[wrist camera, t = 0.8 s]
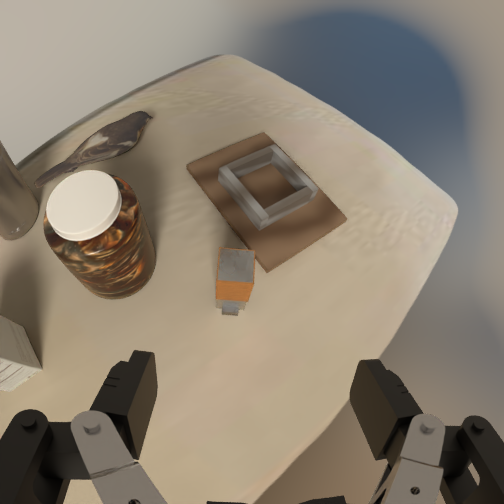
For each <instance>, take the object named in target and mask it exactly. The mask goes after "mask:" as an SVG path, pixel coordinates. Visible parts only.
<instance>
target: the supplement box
mask: <svg viewBox="0 0 504 504" xmlns="http://www.w3.org/2000/svg"><path fill="white" fill-rule="evenodd" d="M41 370H42V367H41V365H40V363H39V361H38V359H37V357H36V355H35V353H34V350H33V348H32V346H31V344H30V341H29V339H28V337H27V334H26V332H25V329H24V327H22V326H20V325H18V324H16V323H14V322H13V321H11V320H9V319H7V318H5V317H3V316H1V315H0V390H3V391H10V392H11V391H12V390H14V389H15V388H17V387H18V386H20V385H21V384H22V383H24V382H25V381H27V380H28V379H29V378H31V377H32V376H34V375H35V374H37V373H38V372H39V371H41Z"/></svg>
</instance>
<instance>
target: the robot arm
mask: <svg viewBox="0 0 504 504" xmlns="http://www.w3.org/2000/svg"><path fill="white" fill-rule="evenodd" d="M38 211H39V205H38V201H37V200H36V198H35V197H34V195H33V194H32V192H31V191H30V189H29V187H28V186H27V184H26V183H25V181H24V180H23V178H22V176H21V175H20V173H19V172H18V170H17V168H16V167H15V165H14V163H13V162H12V160H11V158H10V157H9V155H8V153H7V151H6V150H5V148H4V146H3V145H2V143H1V141H0V235H1V236H2V237H3V238H4V239H6V240H14V239H18V238H19V237H21V236H23V235H24V234H25V233H27V232H28V230H29V229H30V228H31V227H32V226H33V224H34V222H35V220H36V218H37V215H38ZM157 388H158V385H157V374H156V364H155V355H154V353H153V352H146V351H138V350H134V352H133V353H132V355H131V357H130V360H129V362H125V361H120V362H119V363H117V364H116V365H115V366H113V367H112V368H111V370H110V372H109V374H108V376H107V378H106V379H105V381H104V383H103V385H102V387H101V389H100V391H99V393H98V394H97V396H96V398H95V400H94V402H93V404H92V406H91V408H90V410H89V411H85V412H82V413H80V414H78V415H76V416H75V417H74V419H73V420H72V422H48V420H47V417H46V416H45V415H44V414H43V413H42V412H40V411H38V410H33V409H28V410H24V411H21V412H19V413H18V414H16V415H15V416H14V418H13V419H12V421H11V422H10V424H9V426H8V427H7V429H6V431H5V432H4V434H3V436H2V438H1V439H0V504H63V502H64V499H65V496H66V493H67V489H68V486H69V483H70V480H71V479H80V480H92V482H93V484H94V486H95V488H96V490H97V492H98V494H99V496H100V498H101V500H102V502H103V504H167V502H166V501H165V500H164V498H163V497H162V495H161V494H160V493H159V491H158V490H157V488H156V487H155V486H154V484H153V483H152V481H151V480H150V478H149V477H148V475H147V474H146V472H145V471H144V469H143V468H142V466H141V465H140V464H139V463H138V462H135V461H134V459H136V460H139V457H140V453H141V450H142V446H143V442H144V439H145V435H146V432H147V428H148V425H149V421H150V418H151V414H152V411H153V408H154V404H155V401H156V397H157ZM350 402H351V405H352V407H353V409H354V412H355V414H356V416H357V419H358V421H359V423H360V425H361V428H362V430H363V432H364V435H365V437H366V439H367V442H368V444H369V446H370V449H371V451H372V453H373V456H374V458H375V460H381V459H386V458H387V461H388V463H387V465H386V467H385V469H384V471H383V474H382V476H381V478H380V481H379V483H378V485H377V487H376V489H375V491H374V494H373V496H372V498H371V500H370V501H369V503H368V504H435V503H436V500H437V496H438V492H439V489H440V491H441V494H442V496H443V498H444V500H445V503H446V504H504V442H503V441H502V439H501V438H500V437H499V435H498V434H497V432H496V431H495V430H494V428H493V427H492V426H491V424H490V423H489V422H488V421H487V420H486V419H484V418H482V417H480V416H469V417H467V418H466V419H465V420H464V421H463V423H462V425H461V426H445V425H444V423H443V422H442V421H441V420H440V419H439V418H438V417H436V416H434V415H431V414H424V413H423V412H422V410H421V409H420V407H419V406H418V404H417V403H416V402H415V400H414V398H413V397H412V395H411V394H410V393H408V390H407V388H406V387H405V386H404V384H403V382H402V381H401V379H400V378H399V377H398V376H397V375H396V374H394V373H393V372H392V371H390V370H386V369H385V367H384V366H383V364H382V363H381V361H380V360H379V359H371V360H361V361H360V362H359V363H358V366H357V370H356V373H355V376H354V379H353V383H352V386H351V389H350ZM471 463H473V465H474V467H475V469H476V471H477V472H478V474H479V477H480V483H479V485H477V484H476V482H475V480H474V478H473V476H472V474H471V473H470V471H469V469H468V467H469V465H470V464H471ZM207 504H246V503H234V502H212V501H207ZM300 504H346V502H345V498H344V496H337V497H330V498H322V499H313V500H309V501H306V502H303V503H300Z"/></svg>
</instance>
